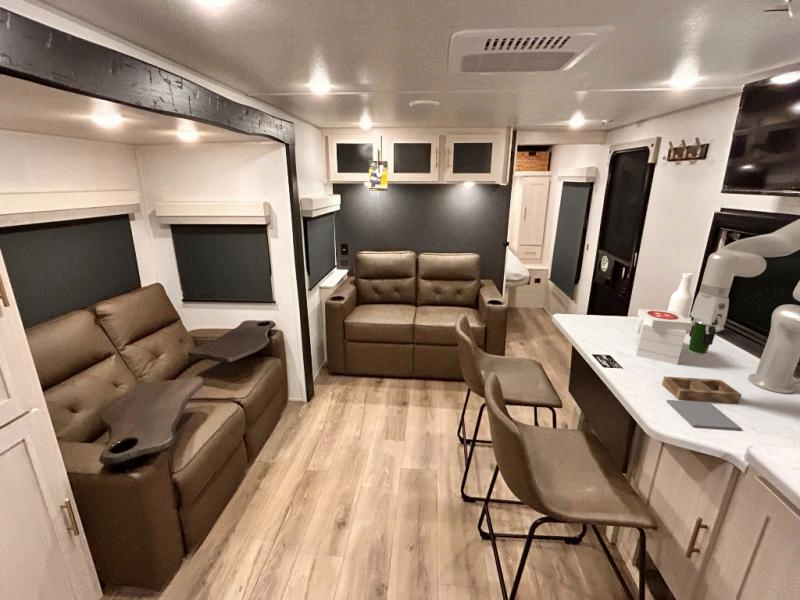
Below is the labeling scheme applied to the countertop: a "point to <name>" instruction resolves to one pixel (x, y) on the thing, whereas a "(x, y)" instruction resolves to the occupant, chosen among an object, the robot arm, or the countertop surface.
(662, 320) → the pizza boxes
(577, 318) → the countertop surface
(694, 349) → the beer can
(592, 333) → the countertop surface
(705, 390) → the can holder
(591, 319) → the countertop surface
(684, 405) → the rubber mat
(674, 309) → the alcohol
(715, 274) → the robot arm
